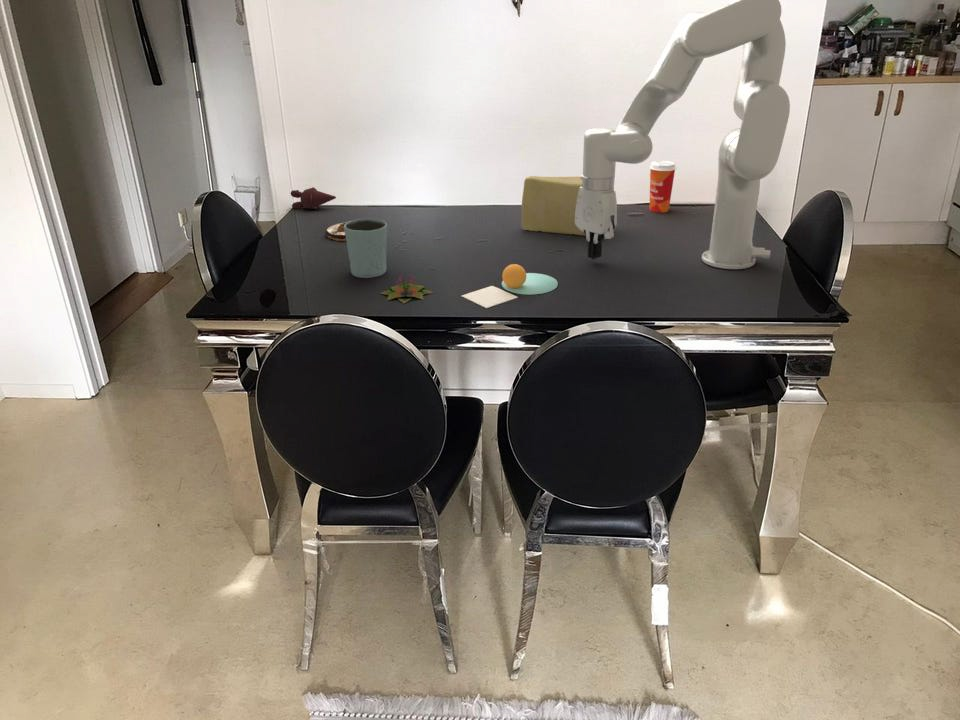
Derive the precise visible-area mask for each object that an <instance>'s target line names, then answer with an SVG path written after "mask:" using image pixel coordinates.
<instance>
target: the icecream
mask: <svg viewBox="0 0 960 720" xmlns="http://www.w3.org/2000/svg"><path fill="white" fill-rule="evenodd" d="M290 196H291V197H292V198H296V199H299V200H300V201H295V202H293V203H292V205H291V207H292V209H294V210H296V209H297V210H299V209H301V208H303V207H304V208H306V209H309V210H315V211H316V210H318V209H319V207H320V206H322V205H324V204H326V203H329V202H331V201H333V200H335V199H336V198H337V197H336V196H335V195H334V194H329V193H325V192H323V191H319V190H318V189H316V188H315V187H314V186H312V187H310V188H307V189H304V190H303V191H300V190H298V189H297V190H294V189H293V190H291V191H290Z"/></svg>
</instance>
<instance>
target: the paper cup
mask: <svg viewBox="0 0 960 720" xmlns="http://www.w3.org/2000/svg"><path fill="white" fill-rule="evenodd" d="M676 169H677V167H676V163H675V162H674V161H668V160H656V161H655V160H654V161H652V162H651V164H650V166H649V170H650V171H649V173H650V174H649V175H650V176H649V178H650V179H649V211H650V212H651V213H655V214H656V213H657V214H663V213H667V212H669V210H670V204H671V198H672V192H673V186H674V178H675V171H676Z"/></svg>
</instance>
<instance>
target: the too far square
mask: <svg viewBox="0 0 960 720" xmlns="http://www.w3.org/2000/svg"><path fill="white" fill-rule="evenodd" d="M461 297H462V298H464V299H466V300H468V301H471V303H474V304H477V305H479V306H481V307H483V308H485V309H488V308H491V307H494V306H498V305H500V304H503V303H507V302H510V301H512V300H515V299H518V298H519V297H518V296H517V295H514V294H512V293H511V292H509V291H507V290H506V291H505V290H503V289H501V288H499V287H496V286H494V285H490V286H487V287H484V288H481V289H478V290H474V291H471V292H468V293H466V294H463V295H461Z"/></svg>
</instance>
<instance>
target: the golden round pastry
mask: <svg viewBox="0 0 960 720" xmlns="http://www.w3.org/2000/svg"><path fill="white" fill-rule="evenodd" d="M349 221H350V220H347V221H345V222H340V223H335V224H333V225H331V226H329V227H327V228H326V230H325V235H326V236H327V238H328V239H330V240H333V241H337V242H347V241H346V235H345V230H344V225H345V224H346V223H347V222H349Z"/></svg>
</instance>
